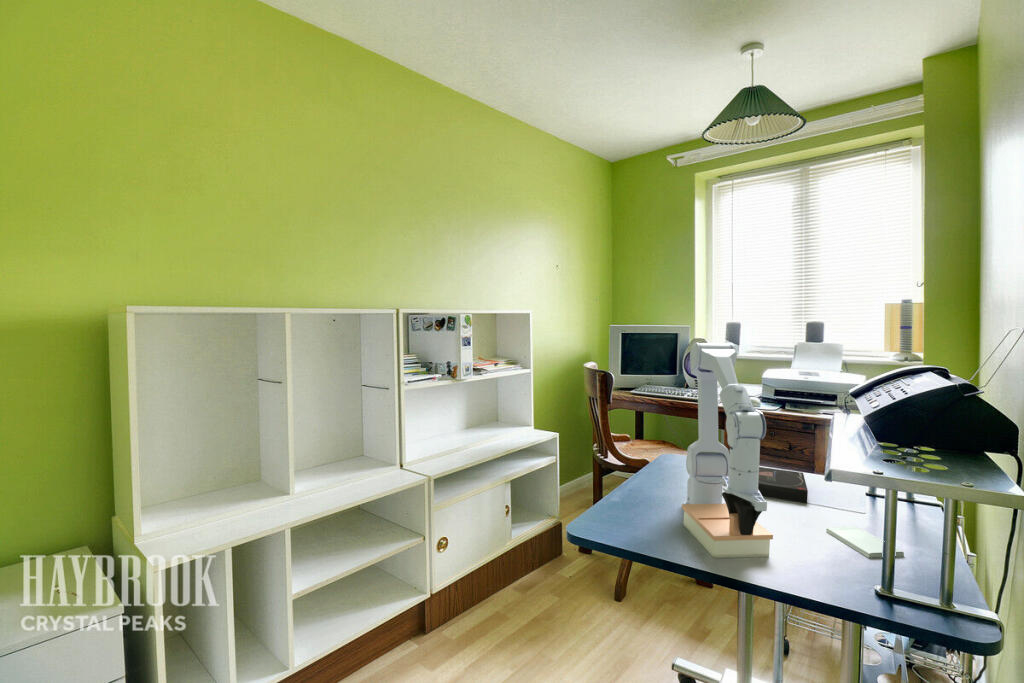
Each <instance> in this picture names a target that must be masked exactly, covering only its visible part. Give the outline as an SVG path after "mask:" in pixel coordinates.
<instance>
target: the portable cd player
mask: <svg viewBox="0 0 1024 683" xmlns="http://www.w3.org/2000/svg"><path fill="white" fill-rule="evenodd" d="M758 490H759V491H760V493H761V495H762V497H763V498H764V497H766V498H771V499H777V500H782V501H783V500H784V501H790V502H796V503H803V504H808V497H809V496H808V494H809V493H808V492H809V490H808V485H807V482H806V479H805V475H804V472H799V471H793V470H785V469H779V468H772V467H771V468H770V467H763V466H762V467H761V466H759V479H758Z"/></svg>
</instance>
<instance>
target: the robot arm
mask: <svg viewBox="0 0 1024 683" xmlns="http://www.w3.org/2000/svg"><path fill="white" fill-rule="evenodd" d="M689 352H690V353H689V368H690V374H691V375H693V376H695V377H696V381H697V410H698V411H697V416H698V417H697V419H698V421H697V423H698V425H697V426H698V430H697V431H698V439H697V440H696V441H694V442H693V443H691V444H690V445H688V447H687V452H686V453H687V454H686V459H685V466H686V467H685V468H686V472H687V474H688V475H689V477H688V478H687V489H686V501H683V504H723V500H724V503H725V504H726V505H727V508H728V512H729V516H730V514H738V518H739V530H740V534H741V535H751V534H752V531H753V529H754V526H755V523H756V522H757V520H758V518H759V517H760V515H761V514H762V513H763V512H767V508H768V502H767V501H766V500H765V498H764V496H762V495H761V493H760V491H759V490H758V479H759V467H760V455H761V454H760V451H761V450H760V449H761V440H763V439H764V438H765V437H766V435H767V434H766V433H767V421H766V418H765V415H764V413H763V412H762V411H760V410H759V409H758V407H757V408H755V407H754V405H753V403H752V400H751V398H750V396H749V393H748V391H747V389H746V388H745V387H744V386H743V385H740V384H739V382H738V381H739V380H738V378H737V375H736V371H735V366H736V363H737V357H738V353H737V349H736V346H735V345H734V343H732V342H728V343H726V342H724V343H723V342H722V343H721V342H720V343H718V342H713V343H712V342H708V343H707V342H694V343H693V344H692V345H691V347H690V351H689ZM718 384H719V386H720V388H721V391H720V393H719V392H718V391H719V390H718V387H719V386H718ZM718 393H719V394H718ZM718 395H719V396H718ZM718 399H720V402H721V404H722V407H723V410H724V413H725V415H726V421H725V429H726V433H727V440H726V441H727V445H728V446H729V449H728V448H727V447H726V445H724V444H722V443H721V442H720V441H719V403H718V402H719V400H718Z"/></svg>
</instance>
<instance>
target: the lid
mask: <svg viewBox="0 0 1024 683" xmlns="http://www.w3.org/2000/svg"><path fill="white" fill-rule="evenodd" d="M681 509H682V510H683V512H684V511H685V512H686V513H687V514H688V515H689V516H690V517H691V518H692V519H693V520H694V521H695V522H696V523H697V524H698V525H699V526H700V527H701V528H702V529H703V530H704V531H705V532H706V533H707V534H708V535H709V536H710V537H711V538H712V539H713V540H714V541H726V540H769V539H770V540H773V539H774V534H773V533H771V532H770V531H768V529H766V527H763V525H761V524H760V523H758V522H757V521H756V523H755V526H754V529H753V531H752V534H751V535H741V534H740V530H739V518H738V514H730V516H729V512H728V508H727V505H726V503H722V504H681Z"/></svg>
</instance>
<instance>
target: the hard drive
mask: <svg viewBox="0 0 1024 683" xmlns="http://www.w3.org/2000/svg"><path fill="white" fill-rule="evenodd" d="M825 531H826V532H825V533H828V534H829V535H831V536H833V537H834V538H836V539H837V540H839V541H841V542H842V543H844V544H846V546H848V547H850V548H852V549H853V550H855V551H857V552H858V553H860V554H861V555H864V556H865V557H866V558H868V559H873V558H872V557H880V558H883V557H882V545H883V541H884V540H882V539H880V538H878V537H877V536H875V535H873V534H872V533H870V532H868V531H866V530H864V529H863V528H861V527H859V526H843V527H842V526H841V527H828V528H826V529H825ZM895 548H896V557H895V558H898V557H899V558H900V557H905V553H904V551H902V550H900V549H899V548H897V547H895ZM870 557H871V558H870Z"/></svg>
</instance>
